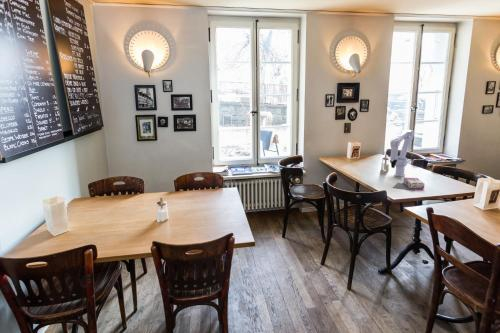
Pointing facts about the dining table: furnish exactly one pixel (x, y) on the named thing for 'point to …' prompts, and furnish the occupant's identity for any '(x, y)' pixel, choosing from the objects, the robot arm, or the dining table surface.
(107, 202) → the dining table surface
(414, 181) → the candy bar box
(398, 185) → the mat
